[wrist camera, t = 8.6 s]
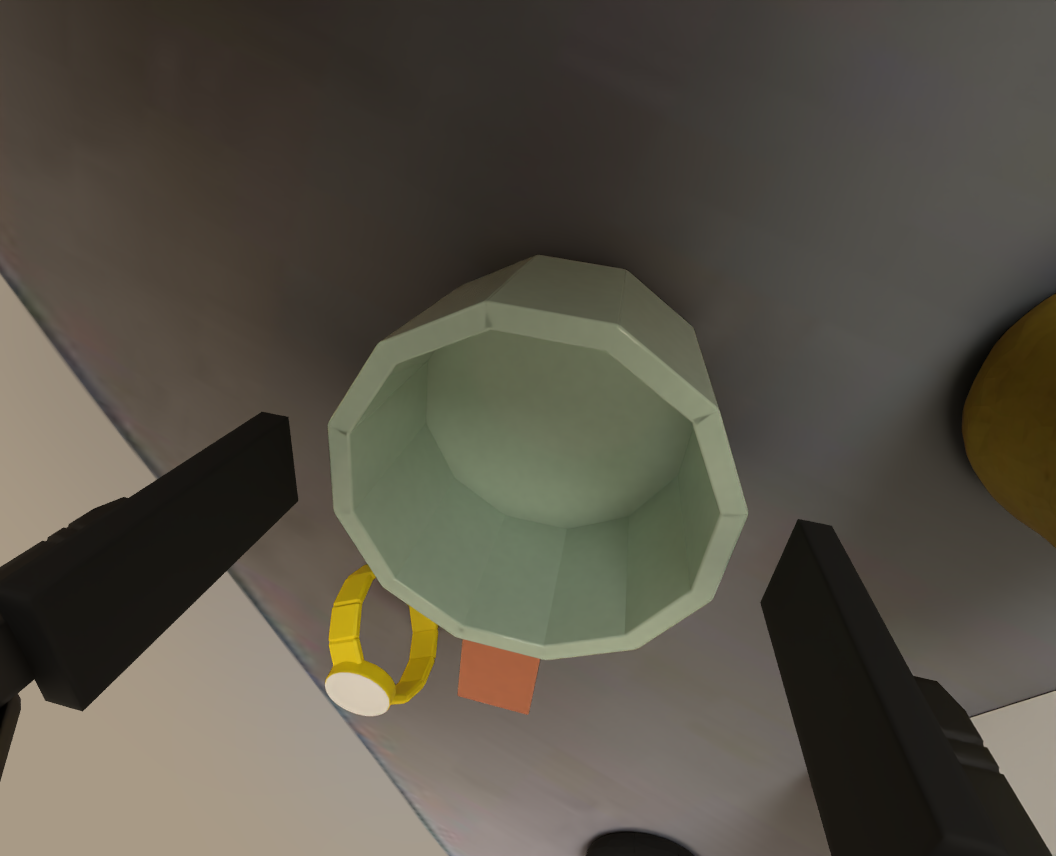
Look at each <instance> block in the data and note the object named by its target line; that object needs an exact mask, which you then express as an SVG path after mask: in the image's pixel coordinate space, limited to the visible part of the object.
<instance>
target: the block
mask: <svg viewBox="0 0 1056 856" xmlns="http://www.w3.org/2000/svg"><path fill="white" fill-rule="evenodd" d="M970 719H971V721H972V723H973V724H974V726H975V728H976V729H977V731H978V733H979V734H980V736H981V738H982V739H983V741H984V742H983V745H984V747H987V748H988V749H989V751H990V753H991V754H992V756H993V758H994V759H995V761H996V763H997V764H998V766H999V772H1000V774H1004V776H1005V778H1006V779H1007V781H1008V782H1009V784H1010V786H1011V787H1012V789H1013V791H1014V792H1015V794H1016V796H1017V797H1018V799H1019V801H1020V802H1021V804H1022V806H1023V807H1024V809H1025V811H1026V812H1027V814H1028V816H1029V817H1030V819H1031V821H1032V822H1033V824H1034V826H1035V827H1036V829H1037V831H1038V832H1039V834H1040V836H1041V837H1042V839H1043V841H1044V842H1045V844H1046V846H1047V847H1048V849H1049V851H1050V852H1051V854H1052V856H1056V691H1053V692H1050V693H1047V694H1044V695H1041V696H1038V697H1034V698H1031V699H1028V700H1025V701H1022V702H1019V703H1016V704H1012V705H1009V706H1006V707H1003V708H1000V709H997V710H993V711H990V712H987V713H984V714H981V715H978V716H975V717H971V718H970Z"/></svg>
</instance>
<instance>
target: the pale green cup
mask: <svg viewBox="0 0 1056 856" xmlns="http://www.w3.org/2000/svg"><path fill="white" fill-rule="evenodd" d="M327 427H328V441H329V455H330V470H331V484H332V498H333V510H334V513H335V515H336V516H337V518H338V520H339V521H340V523H341V524H342V526H343V527H344V529H345V530H346V532H347V533H348V535H349V536H350V538H351V540H352V541H353V543H354V544H355V546H356V547H357V549H358V550H359V552H360V553H361V555H362V557H363V558H364V560H365V561H366V563H367V564H368V566H369V567H370V569H371V570H372V572H373V574H374V575H375V577H376V578H377V580H378V581H379V583H380V584H381V585H382V587H383V588H385V589H386V590H388V591H389V592H390V593H392V594H393V595H395V596H396V597H398V598H399V599H401V600H402V601H404V602H405V603H406V604H408V605H409V606H411V607H412V608H414V609H415V610H417V611H418V612H420V613H421V614H422V615H424V616H425V617H427V618H428V619H430V620H431V621H433V622H434V623H436V624H437V625H439V626H440V627H441V628H443V629H444V630H446V631H447V632H449V633H450V634H452V635H453V636H455V637H458V638H460V639H463V640H462V650H461V661H460V671H459V682H458V692H457V695H458V696H459V697H463V698H467V699H471V700H474V701H478V702H482V703H485V704H489V705H493V706H497V707H500V708H504V709H508V710H511V711H515V712H519V713H523V714H526V715H528V714H529V712H530V707H531V702H532V697H533V692H534V688H535V683H536V678H537V673H538V668H539V664H540V659H542V660H554V659H562V658H571V657H579V656H587V655H596V654H604V653H612V652H621V651H629V650H635V649H638V648H640V647H641V646H643V645H645V644H646V643H648V642H649V641H651V640H652V639H654V638H655V637H657V636H658V635H660V634H661V633H663V632H665V631H666V630H668V629H669V628H671V627H672V626H674V625H675V624H677V623H678V622H680V621H682V620H683V619H685V618H686V617H688V616H689V615H691V614H692V613H694V612H695V611H697V610H698V609H700V608H702V607H703V606H705V605H706V604H708V603H709V602H711V600H713V598H714V596H715V593H716V591H717V588H718V586H719V584H720V581H721V579H722V576H723V574H724V572H725V569H726V567H727V564H728V562H729V560H730V557H731V555H732V552H733V550H734V548H735V545H736V543H737V540H738V538H739V536H740V533H741V531H742V529H743V526H744V524H745V521H746V519H747V517H748V509H747V505H746V502H745V498H744V494H743V491H742V487H741V484H740V480H739V477H738V473H737V470H736V466H735V463H734V459H733V456H732V452H731V449H730V445H729V441H728V438H727V434H726V431H725V427H724V424H723V420H722V417H721V413H720V410H719V407H718V403H717V400H716V397H715V394H714V391H713V388H712V384H711V381H710V378H709V375H708V372H707V368H706V365H705V362H704V359H703V356H702V353H701V349H700V346H699V343H698V340H697V337H696V334H695V330H694V329H693V327H692V326H691V325H690V324H689V323H688V322H686V321H685V320H684V319H683V318H682V317H681V316H679V315H678V314H677V313H676V312H675V311H674V310H673V309H671V308H670V307H669V306H668V305H667V304H666V303H664V302H663V301H662V300H661V299H660V298H659V297H658V296H656V295H655V294H654V293H653V292H652V291H651V290H649V289H648V288H647V287H646V286H645V285H644V284H643V283H641V282H640V281H639V280H638V279H637V278H636V277H634V276H633V275H632V274H631V273H630V272H629V271H627V270H625V269H621V268H615V267H609V266H603V265H597V264H591V263H585V262H579V261H573V260H567V259H561V258H555V257H549V256H543V255H535V256H532V257H530V258H527V259H525V260H522V261H520V262H517V263H515V264H513V265H510V266H508V267H505V268H503V269H500V270H498V271H496V272H493V273H491V274H488V275H486V276H483V277H481V278H479V279H476V280H474V281H471V282H469V283H466V284H464V285H461V286H460V287H458V288H457V289H455V290H454V291H453V292H451V293H450V294H448V295H447V296H445V297H444V298H442V299H441V300H439V301H438V302H437V303H435V304H434V305H432V306H431V307H429V308H428V309H426V310H425V311H424V312H422V313H421V314H419V315H418V316H416V317H415V318H413V319H412V320H411V321H409V322H408V323H406V324H405V325H403V326H402V327H400V328H399V329H398V330H396V331H395V332H393V333H392V334H390V335H389V336H387V337H386V338H384V339H383V340H382V341H380V342H379V343H378V344H377V345H376V347H375V348H374V350H373V351H372V353H371V355H370V356H369V358H368V359H367V361H366V363H365V364H364V366H363V367H362V369H361V371H360V372H359V374H358V375H357V377H356V378H355V380H354V382H353V383H352V385H351V386H350V388H349V390H348V391H347V393H346V394H345V396H344V398H343V399H342V401H341V402H340V404H339V406H338V407H337V409H336V410H335V412H334V414H333V415H332V417H331V418H330V420H329V422H328V426H327Z"/></svg>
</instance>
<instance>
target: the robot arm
mask: <svg viewBox="0 0 1056 856" xmlns="http://www.w3.org/2000/svg"><path fill="white" fill-rule="evenodd" d="M297 502H298V495H297V486H296V478H295V469H294V461H293V452H292V444H291V435H290V427H289V419H288V417H286V416H281V415H276V414H271V413H266V412H261V413H259V414H258V415H256V416H255V417H253V418H252V419H250V420H249V421H247V422H245V423H244V424H242V425H241V426H239V427H238V428H236V429H235V430H233V431H232V432H230V433H228V434H227V435H225V436H224V437H222V438H221V439H219V440H218V441H216V442H215V443H213V444H211V445H210V446H208V447H207V448H205V449H204V450H202V451H201V452H199V453H198V454H196V455H194V456H193V457H191V458H190V459H188V460H187V461H185V462H184V463H182V464H180V465H179V466H177V467H176V468H174V469H173V470H171V471H170V472H168V473H167V474H165V475H163V476H162V477H160V478H159V479H157V480H156V481H154V482H153V483H151V484H150V485H148V486H146V487H145V488H143V489H142V490H140V491H139V492H137V493H136V494H134V495H133V496H131V497H129V498H126V497H123V498H120V499H118V500H115V501H112V502H110V503H107V504H105V505H102V506H100V507H97V508H95V509H93V510H91V511H89V512H88V513H86V514H84V515H83V516H81V517H80V518H78V519H76V520H75V521H73V522H72V523H70V524H69V526H68V527H67V528H62V529H61V530H59V531H57V532H56V533H54V534H53V535H51V536H49V537H48V539H47V541H41V542H40V543H38V544H37V545H35V546H33V547H32V548H30V549H29V550H27V551H25V552H24V553H22V554H20V555H19V556H17V557H16V558H14V559H13V560H11V561H9V562H8V563H6V564H4V565H3V566H1V567H0V780H1V777H2V773H3V769H4V766H5V763H6V759H7V756H8V752H9V749H10V745H11V741H12V738H13V734H14V731H15V728H16V724H17V721H18V717H19V714H20V710H21V699H20V697H19V695H18V693H19V692H20V691H21V690H22V689H23V688H25V687H26V686H27V685H28V684H29V683H31V682H32V681H33V680H34V679H35V681H36V683H37V685H38V687H39V689H40V691H41V693H42V694H43V697H44V699H45V700H46V701H49V702H52V703H56V704H59V705H63V706H66V707H69V708H73V709H77V710H80V711H83V710H84V709H86V708H87V707H88V706H89V705H90V704H91V703H92V702H93V701H94V700H95V699H96V698H97V697H98V696H99V695H100V694H101V693H102V692H103V691H104V690H105V689H106V688H107V687H108V686H109V685H110V684H111V683H112V682H113V681H114V680H115V679H116V678H117V677H118V676H119V675H120V674H121V673H122V672H123V671H125V670H126V669H127V668H128V666H130V665H131V664H132V663H133V662H134V661H135V660H136V659H137V658H138V657H139V656H140V655H141V654H142V653H143V652H144V651H145V650H146V649H147V648H148V647H149V646H150V645H151V644H152V643H153V642H154V641H155V640H156V639H157V638H158V637H159V636H160V635H161V634H162V633H163V632H164V631H165V630H166V629H168V628H169V627H170V626H171V624H173V623H174V622H175V621H176V620H177V619H178V618H179V617H180V616H181V615H182V614H183V613H184V612H185V611H186V610H187V609H188V608H189V607H190V606H191V605H192V604H193V603H194V602H195V601H196V600H197V599H198V598H199V597H200V596H201V595H202V594H203V593H204V592H205V591H206V590H207V589H208V588H209V587H211V586H212V585H213V584H214V583H215V582H216V581H217V580H218V579H219V578H220V577H221V576H222V575H223V574H224V573H225V572H226V571H227V570H228V569H229V568H230V567H231V566H232V565H233V564H234V563H235V562H236V561H237V560H238V559H239V558H240V557H241V556H242V555H243V554H244V553H245V552H246V551H247V550H248V549H249V548H250V547H251V546H253V545H254V544H255V543H256V542H257V541H258V540H259V539H260V538H261V537H262V536H263V535H264V534H265V533H266V532H267V531H268V530H269V529H270V528H271V527H272V526H273V525H274V524H275V523H276V522H277V521H278V520H279V519H280V518H281V517H282V516H283V515H284V514H285V513H286V512H287V511H288V510H289V509H290V508H291V507H292V506H293V505H294V504H296V503H297ZM760 603H761V606H762V610H763V613H764V617H765V621H766V624H767V628H768V631H769V635H770V638H771V642H772V646H773V649H774V653H775V656H776V660H777V663H778V667H779V670H780V674H781V678H782V681H783V685H784V688H785V692H786V695H787V699H788V703H789V706H790V710H791V713H792V717H793V720H794V724H795V728H796V731H797V735H798V738H799V742H800V745H801V749H802V752H803V756H804V760H805V763H806V767H807V770H808V774H809V777H810V781H811V785H812V788H813V792H814V795H815V799H816V802H817V806H818V810H819V813H820V817H821V820H822V824H823V827H824V831H825V834H826V838H827V842H828V845H829V849H830V852H831V856H1052V854H1051V852H1050V851H1049V849H1048V847H1047V846H1046V844H1045V842H1044V841H1043V839H1042V837H1041V836H1040V834H1039V832H1038V831H1037V829H1036V827H1035V826H1034V824H1033V822H1032V821H1031V819H1030V817H1029V816H1028V814H1027V812H1026V811H1025V809H1024V807H1023V806H1022V804H1021V802H1020V801H1019V799H1018V797H1017V796H1016V794H1015V792H1014V791H1013V789H1012V787H1011V786H1010V784H1009V782H1008V781H1007V779H1006V778H1005V776H1004V774H1000V772H999V766H998V764H997V763H996V761H995V759H994V758H993V756H992V754H991V753H990V751H989V749H988V748H987V747H984V745H983V742H984V741H983V739H982V738H981V736H980V734H979V733H978V731H977V729H976V728H975V726H974V724H973V723H972V721H971V719H970V718H969V716H968V714H967V713H966V711H965V710H964V709H963V708H962V707H961V706H960V705H959V704H958V703H957V701H956V700H955V699H954V698H953V697H952V696H951V695H950V694H949V693H948V692H947V691H946V690H945V689H944V688H943V687H942V686H941V685H940V684H939V683H938V682H937V681H933V680H929V679H924V678H920V677H916V676H913V675H912V673H911V672H910V670H909V668H908V666H907V664H906V662H905V660H904V659H903V657H902V655H901V653H900V651H899V649H898V648H897V646H896V644H895V642H894V640H893V638H892V636H891V635H890V633H889V631H888V629H887V627H886V625H885V623H884V622H883V620H882V618H881V616H880V614H879V612H878V611H877V609H876V607H875V605H874V603H873V601H872V599H871V598H870V596H869V594H868V592H867V590H866V588H865V586H864V585H863V583H862V581H861V579H860V577H859V575H858V573H857V572H856V570H855V568H854V566H853V564H852V562H851V561H850V559H849V557H848V555H847V553H846V551H845V549H844V548H843V546H842V544H841V542H840V540H839V538H838V536H837V535H836V533H835V531H834V529H833V527H832V526H830V525H825V524H820V523H815V522H810V521H805V520H800V519H798V520H797V522H796V525H795V527H794V529H793V531H792V534H791V536H790V538H789V540H788V542H787V545H786V547H785V549H784V551H783V554H782V556H781V558H780V560H779V562H778V565H777V567H776V569H775V571H774V574H773V576H772V578H771V580H770V582H769V585H768V587H767V589H766V591H765V593H764V596H763V598H762V600H761V602H760Z"/></svg>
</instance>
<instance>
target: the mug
mask: <svg viewBox="0 0 1056 856" xmlns="http://www.w3.org/2000/svg"><path fill="white" fill-rule="evenodd" d="M962 434H963V439H964V444H965V449H966V454H967V457H968V459H969V461H970V464H971V466H972V468H973V470H974V471H975V473H976V474H977V476H978V478H979V479H980V481H981V482H982V483H983V485H984V486H985V488H986V489H987V490H988V492H989V493H990V495H991V496H992V497H993V498H994V499H995V500H996V501H997V502H998V503H999V504H1000V505H1001V506H1003V507H1004V508H1005V509H1006V510H1007V511H1008V512H1009V513H1010V514H1012V515H1013V516H1014V517H1015V518H1016V519H1018V520H1019V521H1021V522H1022V523H1024V524H1025V525H1027V526H1028V527H1030V528H1031V529H1032V530H1034V531H1035V532H1037V533H1038V534H1040V535H1041V536H1042V537H1044V538H1045V539H1046V540H1047V541H1048V542H1050V543H1051V544H1052V545H1053V546H1054V547H1055V548H1056V293H1055V294H1054V295H1052V296H1051V297H1049V298H1047V299H1046V300H1044V301H1043V302H1041V303H1040V304H1039V305H1037V306H1036V307H1034V308H1033V309H1032V310H1030V311H1029V312H1028V313H1027V314H1026V315H1024V316H1023V317H1022V318H1021V319H1020V320H1018V321H1017V322H1016V323H1015V324H1014V325H1013V326H1012V327H1011V328H1009V329H1008V330H1007V331H1006V332H1005V333H1004V335H1003V336H1002V337H1001V338H1000V339H999V340H998V341H997V343H996V344H995V345H994V346H993V348H992V349H991V351H990V353H989V355H988V356H987V358H986V360H985V361H984V363H983V365H982V367H981V369H980V371H979V372H978V374H977V376H976V378H975V380H974V382H973V384H972V387H971V389H970V391H969V394H968V396H967V398H966V401H965V404H964V408H963V412H962Z"/></svg>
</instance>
